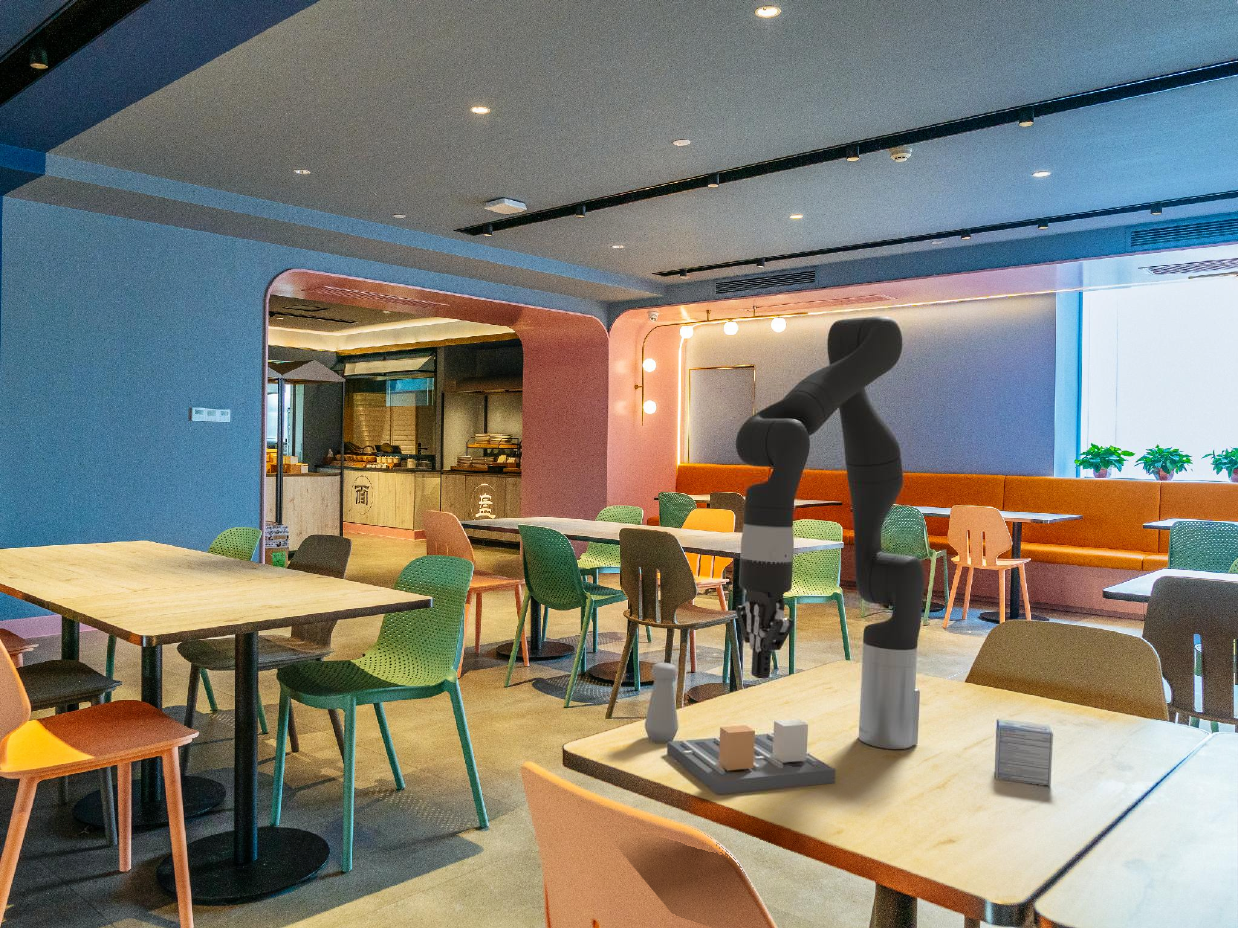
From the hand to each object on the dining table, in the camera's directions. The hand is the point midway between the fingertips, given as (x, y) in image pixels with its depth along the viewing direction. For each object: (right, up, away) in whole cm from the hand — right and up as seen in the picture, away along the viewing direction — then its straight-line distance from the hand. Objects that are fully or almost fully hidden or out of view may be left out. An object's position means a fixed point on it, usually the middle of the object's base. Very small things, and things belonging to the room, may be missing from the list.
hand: (760, 676), depth 127 cm
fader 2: (+6, -15, +10) cm, 20 cm away
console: (0, -17, +12) cm, 21 cm away
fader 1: (-3, -15, +6) cm, 16 cm away
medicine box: (+44, -20, +13) cm, 50 cm away
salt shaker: (-13, -17, +25) cm, 33 cm away
